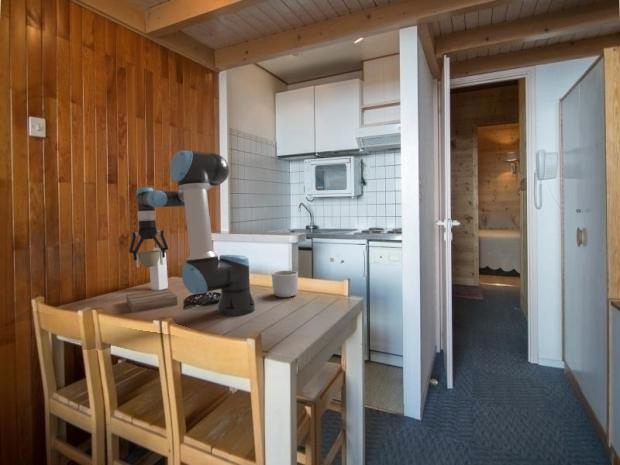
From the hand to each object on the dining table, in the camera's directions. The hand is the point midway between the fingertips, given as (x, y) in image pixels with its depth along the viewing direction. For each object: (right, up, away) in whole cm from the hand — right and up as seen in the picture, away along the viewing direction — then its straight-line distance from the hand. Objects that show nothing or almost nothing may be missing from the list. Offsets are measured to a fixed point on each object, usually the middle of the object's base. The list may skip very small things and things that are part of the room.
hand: (150, 265), depth 171 cm
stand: (+6, -16, -13) cm, 22 cm away
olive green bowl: (0, 0, 0) cm, 0 cm away
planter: (+66, -14, -3) cm, 68 cm away
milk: (-3, -14, +17) cm, 22 cm away
